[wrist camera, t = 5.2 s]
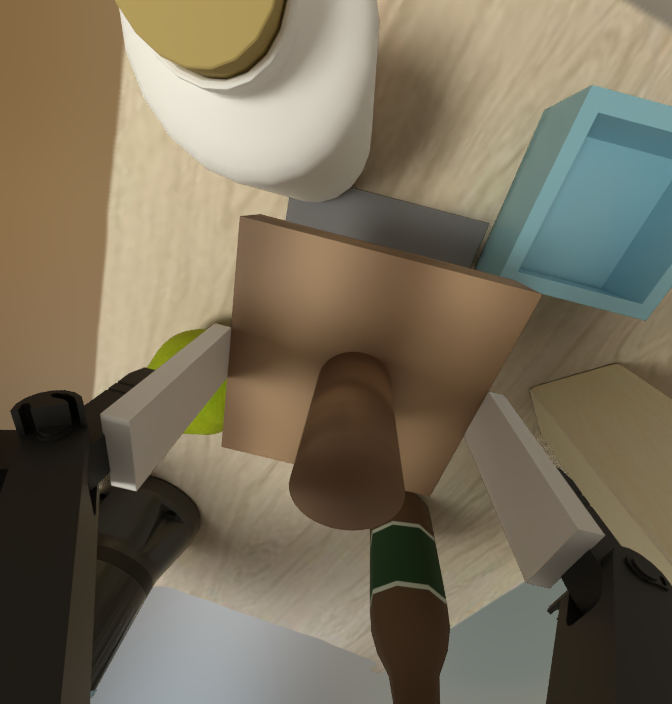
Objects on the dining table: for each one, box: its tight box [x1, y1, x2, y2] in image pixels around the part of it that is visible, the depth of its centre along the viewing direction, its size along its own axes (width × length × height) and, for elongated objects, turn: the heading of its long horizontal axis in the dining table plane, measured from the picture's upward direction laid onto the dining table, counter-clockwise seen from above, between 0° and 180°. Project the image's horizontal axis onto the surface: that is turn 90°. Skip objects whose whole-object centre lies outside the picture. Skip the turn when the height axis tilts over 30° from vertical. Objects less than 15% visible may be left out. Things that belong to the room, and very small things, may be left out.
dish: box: [475, 85, 672, 321], centre depth 21 cm, size 11×11×5 cm
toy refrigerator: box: [530, 364, 672, 585], centre depth 21 cm, size 8×7×21 cm
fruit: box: [147, 329, 227, 435], centre depth 28 cm, size 9×9×10 cm
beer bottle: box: [370, 491, 450, 704], centre depth 29 cm, size 8×8×24 cm
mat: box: [286, 188, 489, 268], centre depth 28 cm, size 16×16×1 cm
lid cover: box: [222, 214, 543, 530], centre depth 13 cm, size 12×12×8 cm
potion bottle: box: [115, 0, 380, 202], centre depth 15 cm, size 8×8×18 cm
